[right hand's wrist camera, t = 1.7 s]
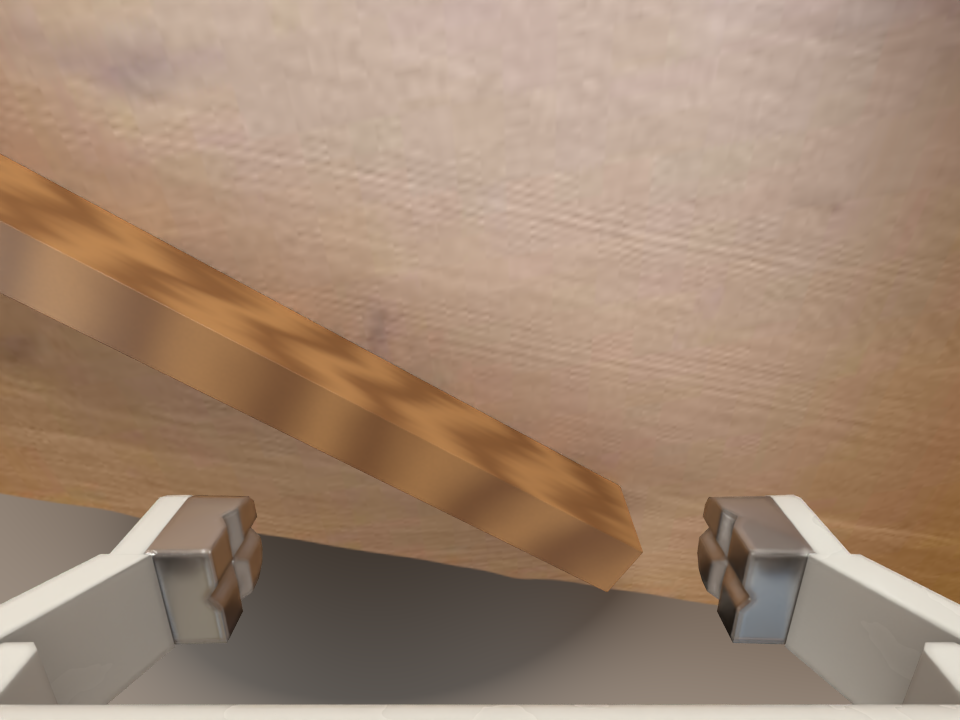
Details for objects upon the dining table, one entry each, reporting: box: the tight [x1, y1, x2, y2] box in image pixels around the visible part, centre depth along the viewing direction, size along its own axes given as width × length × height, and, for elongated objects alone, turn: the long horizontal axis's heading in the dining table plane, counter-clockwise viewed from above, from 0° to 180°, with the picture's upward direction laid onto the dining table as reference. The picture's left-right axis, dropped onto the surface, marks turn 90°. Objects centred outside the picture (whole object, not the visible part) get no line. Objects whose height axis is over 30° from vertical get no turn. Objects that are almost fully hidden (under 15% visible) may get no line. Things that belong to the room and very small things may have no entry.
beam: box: [0, 154, 643, 592], centre depth 39 cm, size 74×4×8 cm, turn 59°
